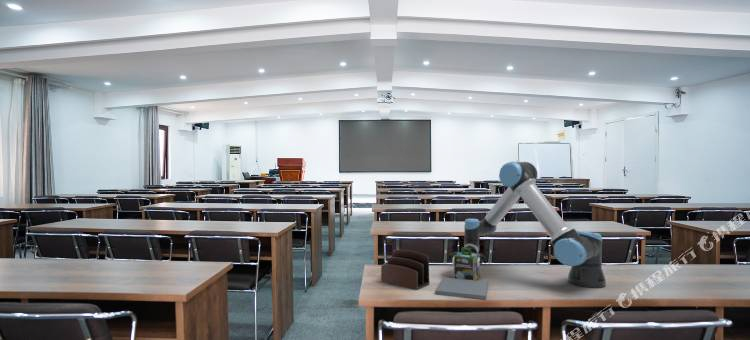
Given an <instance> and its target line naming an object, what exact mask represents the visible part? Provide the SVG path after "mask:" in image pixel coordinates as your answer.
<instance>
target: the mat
mask: <svg viewBox="0 0 750 340" xmlns="http://www.w3.org/2000/svg"><path fill="white" fill-rule="evenodd" d="M488 290H489V281H485V280H484V281H483V280H465V279H455V277H454V278H453V277H442V278H441V280H440V281H439V284H438V285H437V287H436V289H435V293H434V295H439V296H440V295H441V296H447V295H448V297H457V296H460V297H459V298H466V297H468V298H470V299H475V298H478V299H479V300H485V299H486V300H487V295H488ZM478 299H477V300H478Z"/></svg>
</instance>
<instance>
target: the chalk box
mask: <svg viewBox="0 0 750 340" xmlns="http://www.w3.org/2000/svg"><path fill="white" fill-rule="evenodd" d="M460 250H461V251H460V252H458V254H457V255H455V256H454V265H453V266H454V267H453V269H454V272H453V273H454V274H453V275H454V278H455V279H465V280H476V281H478V279H479V278H480V269H479V268H480V266H479V267H477V260H478V258H479V254H480V253H478V254H476V253H471V248H464V247H461V248H460ZM464 250H468V251H469V252H468V253H466V252H464Z"/></svg>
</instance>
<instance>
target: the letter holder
mask: <svg viewBox="0 0 750 340" xmlns="http://www.w3.org/2000/svg"><path fill="white" fill-rule="evenodd" d="M380 272H381V273H380V281H381V282H383V283H387V284H392V285H395V286H399V287H404V288H406V289H407V288H408V289H412V290H415V291H416V290H417V291H419V290H420V289H422V288H424V287H427V286H429V285H430V258H429V255H428V254H425V253H424V252H423V253H422V252H419V251H415V250H408V249H402V248H401V249H399V248H398V249H393V250H392V256H389V257H387V261H386V263H385V264H384V263H383V264H381V271H380Z"/></svg>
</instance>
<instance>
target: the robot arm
mask: <svg viewBox="0 0 750 340" xmlns="http://www.w3.org/2000/svg"><path fill="white" fill-rule="evenodd" d="M498 178H499V181H500V183H501V184H502V185H503V186H505V187H507V189H506V190H505V191H504V192H503V194H502V195H500V197H499V198H498V200H497V201H496V202H495V203H494V205H493V206H492V207H491V209H490V210H489V211H488V212H487V213H486V214H485V217H484V218H483V219H482V220H479V219H477V218H466V219H465V220H464V226H463V227H464V244H463V245H464V247H463V248H471V253H476V254H479V258H478V260H477V267H479V268H480V265H482V264H483V263H484V264H486V265H487V262H488V261H487V258H488V257H486V256H485V255H484V253H483V252H482V253H479V252H480V236H485V235H491V234H494V233H495V232H496V231H497V226H498V224H499V223H500V222H501V221H502V220H503V218H504V217H505V216H506V215H507V214H508V213H509V211H510V210H511V209H512V207H513V206H514V205H515V204H516V203H517V202H518V201H519V199H520V198H521V199H522V200H523V202H524V203H525V204H526V205H527V208H529V210H530V211H531V213H532V214H533V215H534V217H535V218H536V219H537V221H538V222H539V223H540V225H541V226H542V227H543V229H544V230H545V232H546V233H547V234H548V235H549V237H550V244H551V246H552V247H553V254H554V256H555V258H556V260H557V261H558V262H560V263H561V264H562V265H565V266H568V267H570V269H569V272H568V275H567V281H568V283H570V284H572V285H576V286H579V287H584V288H595V289H596V288H597V289H599V288H604V287H606V285H607V284H606V283H607V281H606V277H605V274H604V271H603V269H602V268H603V267H602V265H603V264H602V259H603V258H602V256H603V255H602V254H603V253H602V252H603V249H602V248H603V239H602V238H603V237H602V234H600V233H598V232H590V231H589V232H588V231H581V230H576V228H574V227H570V226H568V225H567V224H566V222H565V221H564V220H563V218H562V217H561V216H560V214H559V213H558V212H557V210H556V209H555V208H554V207H553V205H552V204H551V203H550V201H549V200H548V199H547V198H546V196H545V195H544V194H543V193H542V191H541V190H540V189H539V187H538V186H537V185H536V182H537V179H538V169H537V167H535V165H534V164H533V163H532V162H531V163H530V162H528V161H509V162H506V163H504V164H503V165H502V166H501V168H500V170H499V174H498ZM464 252H466V253H468V252H469V251H468V250H464ZM458 253H459V251H454V252H452V253H450V254H448V256H447V257H448V258H447V260H448V261H449V262H451V263H452V264H451V265H452V266H454V256H455V255H457V254H458Z"/></svg>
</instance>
